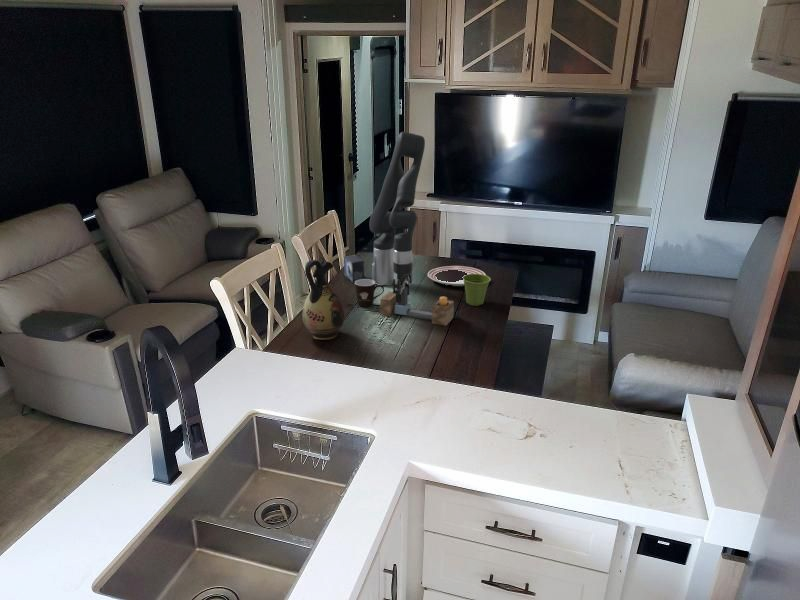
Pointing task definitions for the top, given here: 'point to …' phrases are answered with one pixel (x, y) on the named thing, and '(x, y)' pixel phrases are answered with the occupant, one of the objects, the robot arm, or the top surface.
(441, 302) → the button
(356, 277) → the small box
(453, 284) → the dinner plate
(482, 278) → the plant pot
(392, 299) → the stand
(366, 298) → the coffee mug
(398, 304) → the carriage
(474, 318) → the top surface
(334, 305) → the ceramic jug
